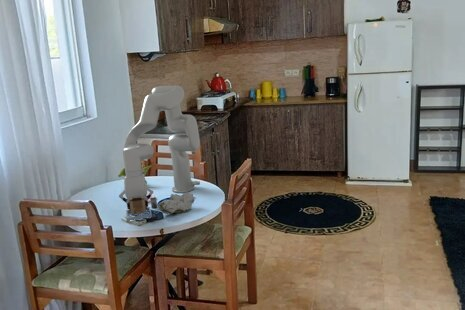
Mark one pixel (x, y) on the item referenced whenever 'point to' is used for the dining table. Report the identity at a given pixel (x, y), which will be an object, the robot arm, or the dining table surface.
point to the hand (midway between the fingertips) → (138, 209)
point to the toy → (142, 173)
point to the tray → (136, 216)
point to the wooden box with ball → (137, 205)
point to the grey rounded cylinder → (153, 202)
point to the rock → (177, 203)
